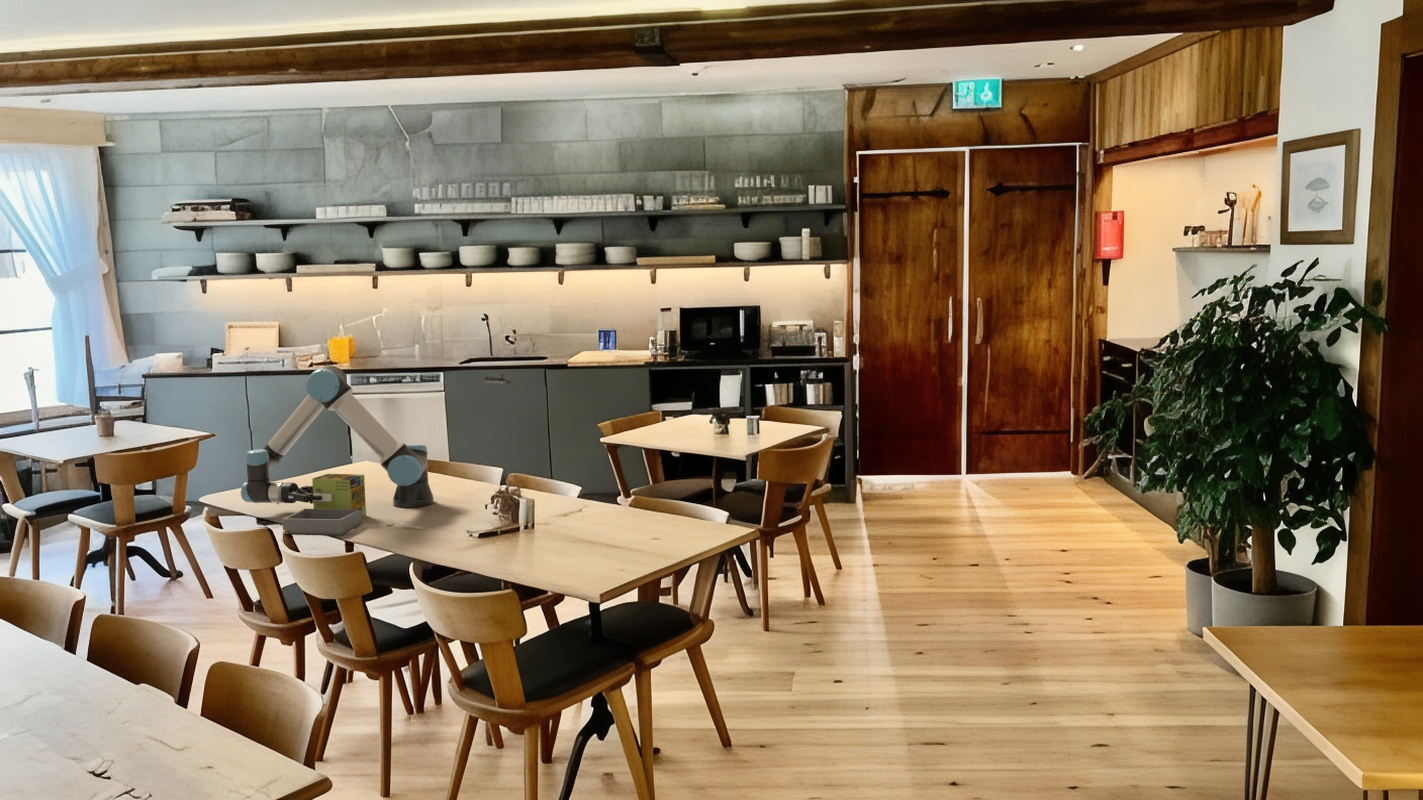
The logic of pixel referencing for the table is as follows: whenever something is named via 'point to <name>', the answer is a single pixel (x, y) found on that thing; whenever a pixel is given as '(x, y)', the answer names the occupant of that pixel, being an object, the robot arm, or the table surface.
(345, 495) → the protein box
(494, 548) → the table surface
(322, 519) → the tray
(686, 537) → the table surface
